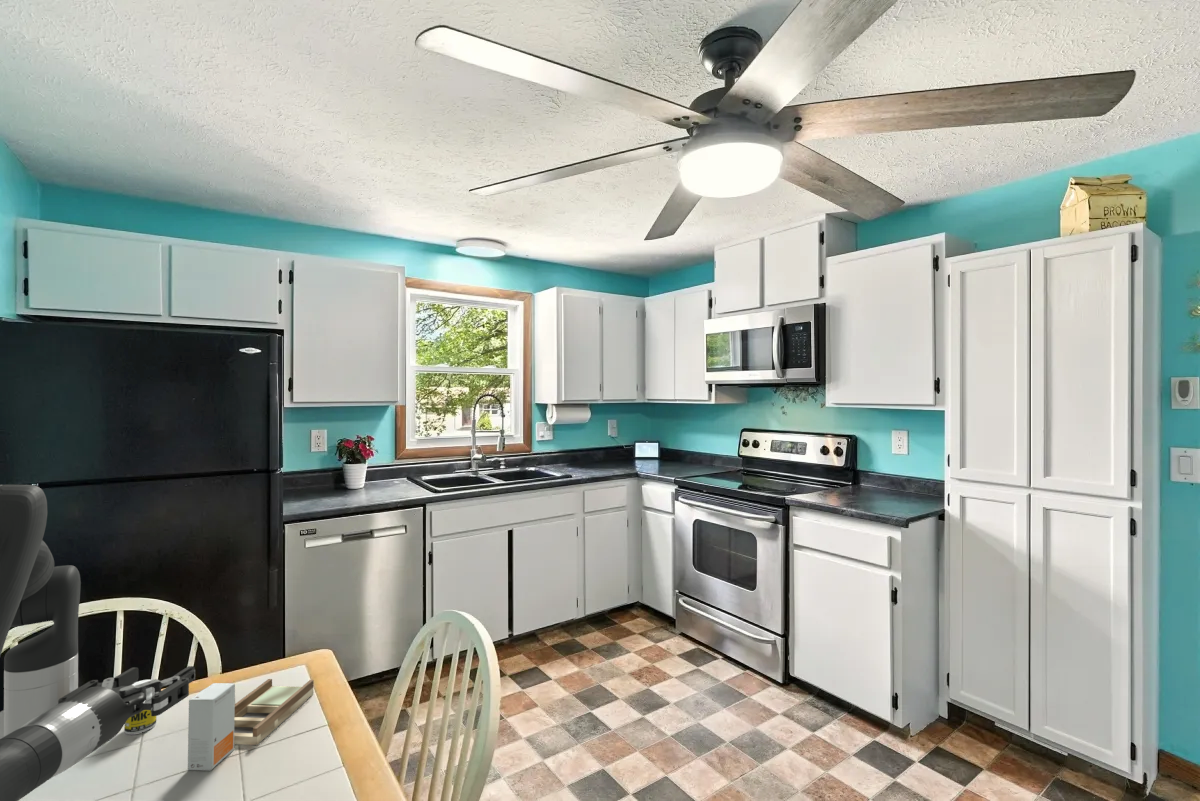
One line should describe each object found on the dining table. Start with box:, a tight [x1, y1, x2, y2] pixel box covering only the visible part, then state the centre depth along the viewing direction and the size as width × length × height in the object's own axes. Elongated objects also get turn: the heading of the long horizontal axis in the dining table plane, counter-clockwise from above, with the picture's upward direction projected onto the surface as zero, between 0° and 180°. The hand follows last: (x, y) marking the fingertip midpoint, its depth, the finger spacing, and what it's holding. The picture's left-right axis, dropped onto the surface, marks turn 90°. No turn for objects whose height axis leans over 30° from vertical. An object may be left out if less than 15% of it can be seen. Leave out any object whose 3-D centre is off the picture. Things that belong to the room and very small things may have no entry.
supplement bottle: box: [124, 679, 157, 736], centre depth 108 cm, size 5×5×8 cm
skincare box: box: [187, 682, 236, 771], centre depth 98 cm, size 6×4×12 cm
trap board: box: [234, 678, 314, 746], centre depth 111 cm, size 10×18×3 cm, turn 177°
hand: (164, 672), depth 87 cm, fingers open, 8 cm apart
